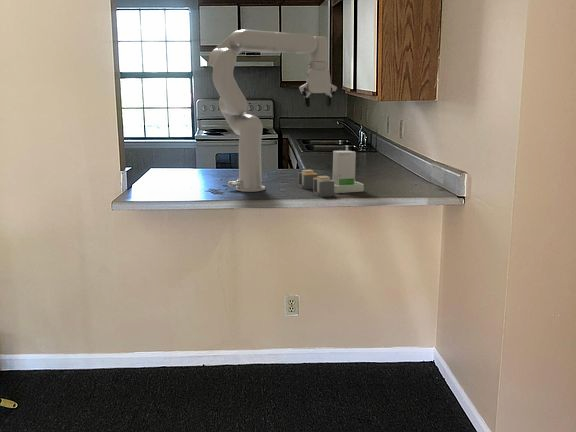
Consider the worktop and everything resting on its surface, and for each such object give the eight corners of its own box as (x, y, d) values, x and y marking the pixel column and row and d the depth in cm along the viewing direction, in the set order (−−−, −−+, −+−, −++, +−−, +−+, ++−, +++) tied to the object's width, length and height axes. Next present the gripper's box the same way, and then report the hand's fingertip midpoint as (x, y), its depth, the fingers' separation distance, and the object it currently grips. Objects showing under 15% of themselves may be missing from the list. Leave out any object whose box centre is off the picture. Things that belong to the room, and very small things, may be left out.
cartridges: (320, 195, 249) (320, 177, 247) (301, 186, 269) (301, 170, 267) (329, 195, 250) (330, 177, 248) (310, 186, 270) (310, 169, 269)
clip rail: (319, 196, 247) (319, 180, 245) (297, 186, 270) (297, 171, 269) (334, 195, 249) (335, 180, 247) (311, 185, 272) (311, 170, 271)
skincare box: (337, 189, 258) (338, 152, 255) (331, 186, 265) (332, 150, 261) (355, 188, 261) (356, 151, 258) (349, 185, 267) (350, 149, 264)
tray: (336, 193, 254) (336, 186, 254) (323, 187, 267) (323, 180, 266) (363, 191, 258) (363, 184, 258) (349, 185, 271) (350, 179, 270)
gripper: (302, 66, 258) (302, 107, 262) (340, 66, 263) (339, 106, 267) (296, 66, 265) (296, 106, 269) (333, 66, 270) (332, 105, 274)
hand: (318, 106), depth 268 cm, fingers open, 9 cm apart
